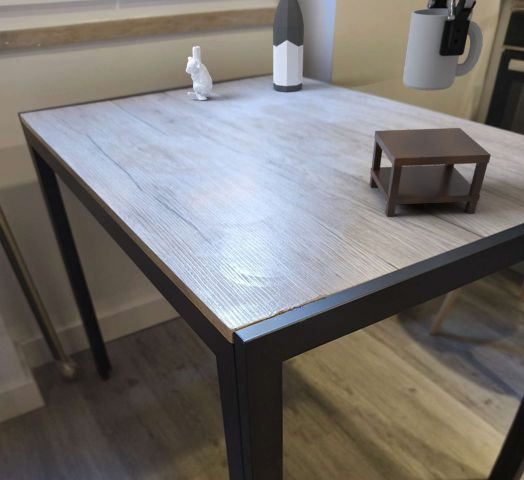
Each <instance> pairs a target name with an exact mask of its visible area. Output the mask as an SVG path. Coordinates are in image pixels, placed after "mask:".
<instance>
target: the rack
mask: <svg viewBox="0 0 524 480" xmlns="http://www.w3.org/2000/svg"><path fill="white" fill-rule="evenodd" d="M373 138H374V143H373V152H372V160H371V167H370V170H369V171H370V172H369V175H370V176H369V177H370V178H369V187H370V188H378V189H379V192H380V193H381V194H382V196H383V198H384V200H385V201H386V205H385V213H384V214H385V216H386V217H395V215H396V208H397V205H410V204H413V205H414V204H436V203H461V202H464V203H465V202H466V203H465V207H464V212H466V214H475V213H476V209H477V205H478V202H479V201H480V198H481V191H482V188H483V187H482V186H483V182H484V179H485V175H486V172H487V167H488V164H489V163H490V160H491V157H492V155H491V154H490V153H489V152H488V151H487V150H486V149H485V148H484V147H482V146H481V145H480V144H479V143H478V142H477V141H475V139H473V138H472V137H471V136H470V135H469V134H467V132H465V131H464V130H463V129H462V128H461V127H446V128H442V127H441V128H418V129H417V128H416V129H415V128H413V129H389V130H374V136H373ZM383 153H384V155H385V156H386V157H387V159H388V160H389V162H390V163H391V166H381V164H382V157H383ZM464 164H465V165H468V164H469V165H470V164H473V165H474V164H475V167H474V171H473V175H472V179H471V182H469V181H468V180H467V179H466V178H465V177H464V176H463V175H462V174H461V172H459V170H457V168H456V167H455V165H464Z"/></svg>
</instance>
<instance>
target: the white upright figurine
mask: <svg viewBox="0 0 524 480" xmlns="http://www.w3.org/2000/svg"><path fill="white" fill-rule="evenodd" d="M201 50H202V48H201V46H200V45H196V46H193V47H192V56H187V60H188V61H187V63H186V68H185V73H187V74H188V75H191V77H190V78H191V80H192V82H193V83H192V87H193V91H194V92H192V91H188V92H187V95H188V97H190V99H191V100H193V101H206V100H207V99H208V98H209V97H211V92H212V89H213V80H212V77H211V75H210V73H209V70H208V69H207V66H206V65H205V64H203V63H202V54H201V53H202V51H201Z"/></svg>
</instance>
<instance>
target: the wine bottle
mask: <svg viewBox="0 0 524 480" xmlns="http://www.w3.org/2000/svg"><path fill="white" fill-rule="evenodd" d="M304 33H305V23H304V18H303V13H302V9H301V6H300V2H299V1H298V0H279V2H278V4H277V7H276V10H275V13H274V17H273V22H272V65H273V66H272V68H273V69H272V77H273V78H272V81H273V82H272V84H273V89H274V90H275V91H276V92H282V93H292V92H299V91H301V90H302V89H303V71H304V69H303V68H304V39H305V38H304V36H305V35H304Z"/></svg>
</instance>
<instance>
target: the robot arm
mask: <svg viewBox="0 0 524 480" xmlns="http://www.w3.org/2000/svg"><path fill="white" fill-rule="evenodd" d="M426 4H427V5H426V9H448V20H445V21H444V27H443V33H442V38H441V44H440V50H439V54H440V55H441V56H459V57H460V56H463V55H464V54H465V50H466V45H467V40H468V36H469V35H468V30H469V25H470V21H472V19H473V14H474V8H475V6H476V5H477V0H458V2H457V0H427V3H426Z"/></svg>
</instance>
